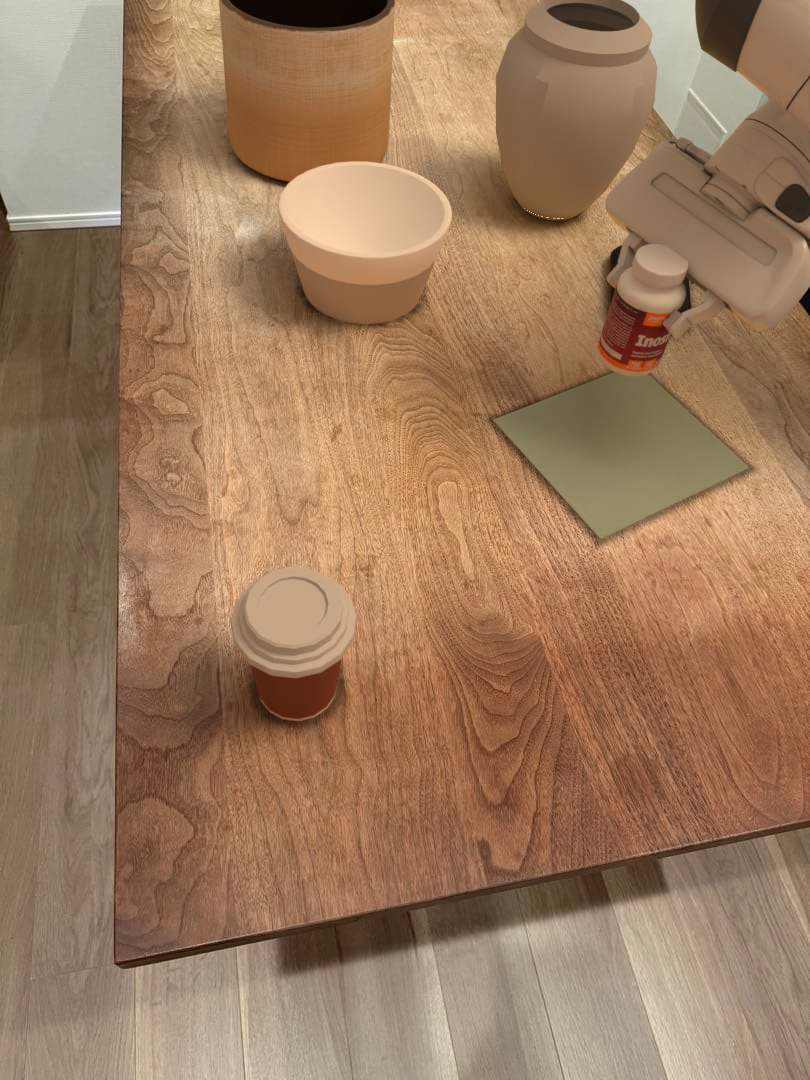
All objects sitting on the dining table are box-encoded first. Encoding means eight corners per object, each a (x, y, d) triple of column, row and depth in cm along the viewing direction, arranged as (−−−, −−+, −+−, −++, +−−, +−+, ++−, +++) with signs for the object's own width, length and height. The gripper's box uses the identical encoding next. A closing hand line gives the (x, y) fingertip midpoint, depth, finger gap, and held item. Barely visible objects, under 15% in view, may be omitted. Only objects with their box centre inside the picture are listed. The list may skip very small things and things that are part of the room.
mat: (635, 366, 100) (636, 363, 99) (748, 469, 91) (749, 467, 90) (492, 422, 92) (492, 419, 92) (599, 541, 83) (600, 538, 83)
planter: (329, 98, 133) (330, -53, 117) (419, 164, 123) (433, 9, 107) (200, 134, 124) (182, -25, 108) (286, 209, 114) (280, 46, 98)
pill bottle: (628, 387, 82) (663, 289, 73) (582, 351, 85) (611, 251, 76) (672, 364, 85) (712, 266, 76) (626, 329, 88) (659, 231, 79)
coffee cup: (324, 623, 75) (324, 537, 66) (372, 709, 71) (380, 630, 61) (224, 663, 72) (209, 579, 63) (267, 756, 67) (258, 680, 58)
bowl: (248, 281, 104) (241, 197, 95) (365, 224, 113) (368, 143, 105) (359, 363, 96) (362, 280, 88) (475, 294, 106) (488, 213, 97)
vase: (484, 244, 112) (517, 42, 93) (472, 164, 124) (499, -29, 105) (632, 250, 114) (695, 53, 95) (606, 171, 126) (657, -18, 107)
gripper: (662, 110, 78) (555, 235, 82) (841, 226, 68) (710, 362, 72) (681, 147, 84) (580, 263, 88) (850, 260, 74) (728, 385, 78)
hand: (640, 309), depth 80 cm, fingers closed on pill bottle, 6 cm apart
